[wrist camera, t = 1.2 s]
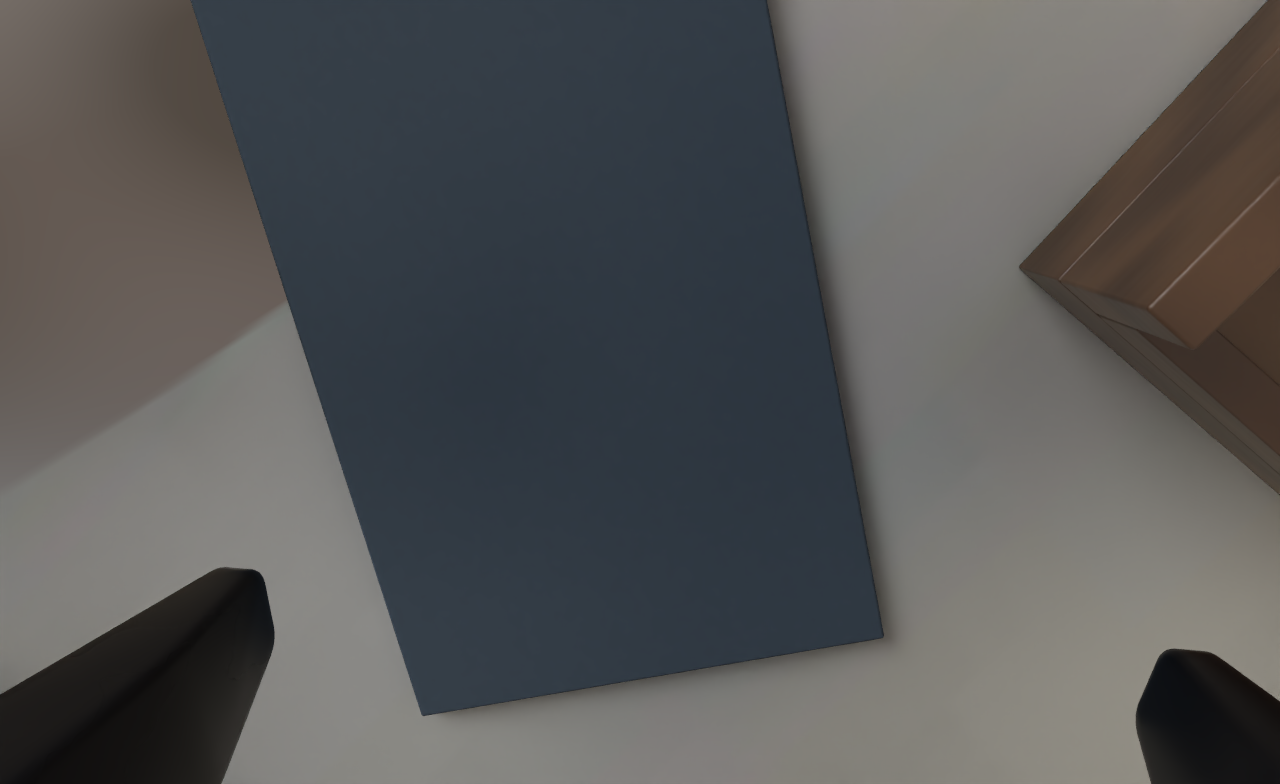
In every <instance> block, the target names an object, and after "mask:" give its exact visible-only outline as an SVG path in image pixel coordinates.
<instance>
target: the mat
mask: <svg viewBox="0 0 1280 784" xmlns="http://www.w3.org/2000/svg"><path fill="white" fill-rule="evenodd" d="M191 3H192V6H193V9H194V12H195V15H196V19H197V21H198V25H199V28H200V31H201V34H202V37H203V40H204V43H205V46H206V49H207V53H208V56H209V59H210V62H211V65H212V68H213V71H214V74H215V77H216V80H217V83H218V87H219V90H220V93H221V96H222V99H223V102H224V105H225V108H226V111H227V114H228V117H229V121H230V123H231V127H232V130H233V133H234V136H235V139H236V142H237V145H238V148H239V151H240V155H241V158H242V160H243V163H244V167H245V170H246V173H247V176H248V179H249V182H250V185H251V189H252V192H253V195H254V197H255V201H256V204H257V207H258V210H259V213H260V216H261V219H262V223H263V226H264V229H265V232H266V235H267V238H268V241H269V244H270V247H271V250H272V253H273V256H274V260H275V263H276V266H277V269H278V271H279V275H280V278H281V281H282V284H283V287H284V291H285V294H286V297H287V300H288V303H289V306H290V309H291V312H292V315H293V318H294V321H295V325H296V328H297V331H298V334H299V337H300V340H301V343H302V346H303V349H304V352H305V355H306V359H307V362H308V365H309V368H310V371H311V374H312V377H313V380H314V383H315V386H316V389H317V393H318V396H319V399H320V402H321V405H322V408H323V411H324V414H325V417H326V420H327V423H328V427H329V430H330V433H331V436H332V439H333V442H334V445H335V448H336V451H337V454H338V457H339V461H340V464H341V467H342V470H343V473H344V476H345V479H346V482H347V485H348V488H349V491H350V495H351V498H352V501H353V504H354V507H355V510H356V513H357V516H358V519H359V522H360V525H361V529H362V532H363V535H364V538H365V541H366V544H367V547H368V550H369V553H370V556H371V559H372V563H373V566H374V569H375V572H376V575H377V578H378V581H379V584H380V587H381V590H382V593H383V597H384V600H385V603H386V606H387V609H388V612H389V615H390V618H391V621H392V624H393V627H394V631H395V634H396V637H397V640H398V643H399V646H400V649H401V652H402V655H403V658H404V661H405V665H406V668H407V671H408V674H409V677H410V680H411V683H412V686H413V689H414V692H415V695H416V699H417V702H418V705H419V708H420V711H421V714H422V716H426V715H432V714H438V713H444V712H450V711H455V710H461V709H467V708H473V707H479V706H485V705H491V704H497V703H503V702H509V701H514V700H520V699H526V698H532V697H538V696H544V695H550V694H556V693H562V692H568V691H573V690H579V689H585V688H591V687H597V686H603V685H609V684H615V683H621V682H626V681H632V680H638V679H644V678H650V677H656V676H662V675H668V674H674V673H680V672H685V671H691V670H697V669H703V668H709V667H715V666H721V665H727V664H733V663H739V662H744V661H750V660H756V659H762V658H768V657H774V656H780V655H786V654H792V653H797V652H803V651H809V650H815V649H821V648H827V647H833V646H839V645H845V644H851V643H856V642H862V641H868V640H874V639H880V638H883V636H884V633H883V628H882V622H881V617H880V611H879V606H878V600H877V595H876V590H875V584H874V579H873V573H872V568H871V563H870V557H869V552H868V546H867V541H866V535H865V530H864V525H863V519H862V514H861V508H860V503H859V497H858V492H857V487H856V481H855V476H854V470H853V465H852V459H851V454H850V449H849V443H848V438H847V432H846V427H845V421H844V416H843V411H842V405H841V400H840V394H839V389H838V384H837V378H836V373H835V367H834V362H833V356H832V351H831V346H830V340H829V335H828V329H827V324H826V318H825V313H824V308H823V302H822V297H821V291H820V286H819V280H818V275H817V270H816V264H815V259H814V253H813V248H812V243H811V237H810V232H809V226H808V221H807V215H806V210H805V205H804V199H803V194H802V188H801V183H800V177H799V172H798V167H797V161H796V156H795V150H794V145H793V139H792V134H791V129H790V123H789V118H788V112H787V107H786V102H785V96H784V91H783V85H782V80H781V74H780V69H779V64H778V58H777V53H776V47H775V42H774V36H773V31H772V26H771V20H770V15H769V9H768V4H767V0H191Z"/></svg>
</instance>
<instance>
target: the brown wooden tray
mask: <svg viewBox="0 0 1280 784" xmlns="http://www.w3.org/2000/svg"><path fill="white" fill-rule="evenodd" d="M1019 268H1020V269H1021V270H1022V271H1023V272H1024V273H1025V274H1027V275H1028V276H1029V277H1030V278H1031V279H1032V280H1033V281H1035V282H1036V283H1037V284H1038V285H1039V286H1040V287H1042V288H1043V289H1044V290H1045V291H1046V292H1047V293H1048V294H1050V295H1051V296H1052V297H1053V298H1054V299H1055V300H1056V301H1058V302H1059V303H1060V304H1061V305H1062V306H1063V307H1064V308H1066V309H1067V310H1068V311H1069V312H1070V313H1071V314H1073V315H1074V316H1075V317H1076V318H1077V319H1078V320H1079V321H1081V322H1082V323H1083V324H1084V325H1085V326H1086V327H1087V328H1089V329H1090V330H1091V331H1092V332H1093V333H1094V334H1095V335H1097V336H1098V337H1099V338H1100V339H1101V340H1102V341H1104V342H1105V343H1106V344H1107V345H1108V346H1109V347H1110V348H1112V349H1113V350H1114V351H1115V352H1116V353H1117V354H1118V355H1120V356H1121V357H1122V358H1123V359H1124V360H1125V361H1126V362H1128V363H1129V364H1130V365H1131V366H1132V367H1133V368H1135V369H1136V370H1137V371H1138V372H1139V373H1140V374H1141V375H1143V376H1144V377H1145V378H1146V379H1147V380H1148V381H1149V382H1151V383H1152V384H1153V385H1154V386H1155V387H1156V388H1157V389H1159V390H1160V391H1161V392H1162V393H1163V394H1164V395H1166V396H1167V397H1168V398H1169V399H1170V400H1171V401H1172V402H1174V403H1175V404H1176V405H1177V406H1178V407H1179V408H1180V409H1182V410H1183V411H1184V412H1185V413H1186V414H1187V415H1188V416H1190V417H1191V418H1192V419H1193V420H1194V421H1195V422H1197V423H1198V424H1199V425H1200V426H1201V427H1202V428H1203V429H1205V430H1206V431H1207V432H1208V433H1209V434H1210V435H1211V436H1213V437H1214V438H1215V439H1216V440H1217V441H1218V442H1219V443H1221V444H1222V445H1223V446H1224V447H1225V448H1226V449H1228V450H1229V451H1230V452H1231V453H1232V454H1233V455H1234V456H1236V457H1237V458H1238V459H1239V460H1240V461H1241V462H1242V463H1244V464H1245V465H1246V466H1247V467H1248V468H1249V469H1251V470H1252V471H1253V472H1254V473H1255V474H1256V475H1257V476H1259V477H1260V478H1261V479H1262V480H1263V481H1264V482H1265V483H1267V484H1268V485H1269V486H1270V487H1271V488H1272V489H1273V490H1275V491H1276V492H1277V493H1278V494H1279V495H1280V0H1268V1H1267V2H1266V3H1265V4H1264V5H1263V6H1262V8H1261V9H1260V10H1259V11H1258V12H1257V13H1256V14H1255V15H1254V16H1253V17H1252V18H1251V19H1250V20H1249V21H1248V22H1247V24H1246V25H1245V26H1244V27H1243V28H1242V29H1241V30H1240V31H1239V32H1238V33H1237V34H1236V35H1235V36H1234V37H1233V39H1232V40H1231V41H1230V42H1229V43H1228V44H1227V45H1226V46H1225V47H1224V48H1223V49H1222V50H1221V51H1220V52H1219V53H1218V55H1217V56H1216V57H1215V58H1214V59H1213V60H1212V61H1211V62H1210V63H1209V64H1208V65H1207V66H1206V67H1205V68H1204V70H1203V71H1202V72H1201V73H1200V74H1199V75H1198V76H1197V77H1196V78H1195V79H1194V80H1193V81H1192V82H1191V83H1190V84H1189V86H1188V87H1187V88H1186V89H1185V90H1184V91H1183V92H1182V93H1181V94H1180V95H1179V96H1178V97H1177V98H1176V99H1175V101H1174V102H1173V103H1172V104H1171V105H1170V106H1169V107H1168V108H1167V109H1166V110H1165V111H1164V112H1163V113H1162V114H1161V115H1160V117H1159V118H1158V119H1157V120H1156V121H1155V122H1154V123H1153V124H1152V125H1151V126H1150V127H1149V128H1148V129H1147V130H1146V131H1145V133H1144V134H1143V135H1142V136H1141V137H1140V138H1139V139H1138V140H1137V141H1136V142H1135V143H1134V144H1133V145H1132V146H1131V148H1130V149H1129V150H1128V151H1127V152H1126V153H1125V154H1124V155H1123V156H1122V157H1121V158H1120V159H1119V160H1118V161H1117V162H1116V164H1115V165H1114V166H1113V167H1112V168H1111V169H1110V170H1109V171H1108V172H1107V173H1106V174H1105V175H1104V176H1103V177H1102V179H1101V180H1100V181H1099V182H1098V183H1097V184H1096V185H1095V186H1094V187H1093V188H1092V189H1091V190H1090V191H1089V192H1088V193H1087V195H1086V196H1085V197H1084V198H1083V199H1082V200H1081V201H1080V202H1079V203H1078V204H1077V205H1076V206H1075V207H1074V208H1073V209H1072V211H1071V212H1070V213H1069V214H1068V215H1067V216H1066V217H1065V218H1064V219H1063V220H1062V221H1061V222H1060V223H1059V224H1058V226H1057V227H1056V228H1055V229H1054V230H1053V231H1052V232H1051V233H1050V234H1049V235H1048V236H1047V237H1046V238H1045V239H1044V240H1043V242H1042V243H1041V244H1040V245H1039V246H1038V247H1037V248H1036V249H1035V250H1034V251H1033V252H1032V253H1031V254H1030V255H1029V257H1028V258H1027V259H1026V260H1025V261H1024V262H1023V263H1022V264H1021V265H1020V267H1019Z"/></svg>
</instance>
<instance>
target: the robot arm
mask: <svg viewBox="0 0 1280 784" xmlns="http://www.w3.org/2000/svg"><path fill="white" fill-rule="evenodd" d="M273 645H274V625H273V620H272V615H271V610H270V605H269V600H268V596H267V591H266V586H265V582H264V579H263V577H262V575H261V574H260V573H259V572H258V571H255V570H252V569H240V568H229V567H223V568H217V569H215V570H213V571H211V572H209V573H207V574H206V575H204V576H202V577H201V578H199V579H197V580H195V581H194V582H192V583H190V584H189V585H187V586H185V587H183V588H182V589H180V590H178V591H177V592H175V593H173V594H171V595H170V596H168V597H166V598H165V599H163V600H161V601H160V602H158V603H156V604H154V605H153V606H151V607H149V608H148V609H146V610H144V611H142V612H141V613H139V614H137V615H136V616H134V617H132V618H130V619H129V620H127V621H125V622H124V623H122V624H120V625H118V626H117V627H115V628H113V629H112V630H110V631H108V632H107V633H105V634H103V635H101V636H100V637H98V638H96V639H95V640H93V641H91V642H89V643H88V644H86V645H84V646H83V647H81V648H79V649H77V650H76V651H74V652H72V653H71V654H69V655H67V656H65V657H64V658H62V659H60V660H59V661H57V662H55V663H54V664H52V665H50V666H48V667H47V668H45V669H43V670H42V671H40V672H38V673H36V674H35V675H33V676H31V677H30V678H28V679H26V680H24V681H23V682H21V683H19V684H18V685H16V686H14V687H12V688H11V689H9V690H7V691H6V692H4V693H2V694H1V695H0V784H221V783H222V781H223V778H224V776H225V773H226V771H227V768H228V766H229V763H230V761H231V758H232V755H233V753H234V750H235V748H236V745H237V742H238V740H239V737H240V735H241V732H242V729H243V727H244V724H245V721H246V719H247V716H248V714H249V711H250V708H251V706H252V703H253V701H254V698H255V695H256V693H257V690H258V688H259V685H260V682H261V680H262V677H263V674H264V672H265V669H266V667H267V664H268V661H269V659H270V656H271V653H272V650H273ZM1136 729H1137V734H1138V738H1139V741H1140V745H1141V749H1142V752H1143V756H1144V759H1145V763H1146V766H1147V770H1148V774H1149V777H1150V781H1151V784H1280V701H1279V700H1277V699H1276V698H1274V697H1273V696H1272V695H1270V694H1269V693H1268V692H1266V691H1265V690H1263V689H1262V688H1261V687H1259V686H1258V685H1257V684H1255V683H1254V682H1252V681H1251V680H1250V679H1248V678H1247V677H1246V676H1244V675H1243V674H1241V673H1240V672H1239V671H1237V670H1236V669H1234V668H1233V667H1232V666H1230V665H1229V664H1228V663H1226V662H1225V661H1223V660H1222V659H1221V658H1219V657H1218V656H1216V655H1214V654H1212V653H1209V652H1205V651H1195V650H1184V649H1169V650H1166V651H1164V652H1163V653H1162V654H1161V655H1160V656H1159V658H1158V660H1157V662H1156V664H1155V667H1154V669H1153V671H1152V674H1151V676H1150V678H1149V681H1148V683H1147V685H1146V687H1145V690H1144V692H1143V694H1142V697H1141V699H1140V701H1139V704H1138V707H1137V711H1136Z"/></svg>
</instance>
